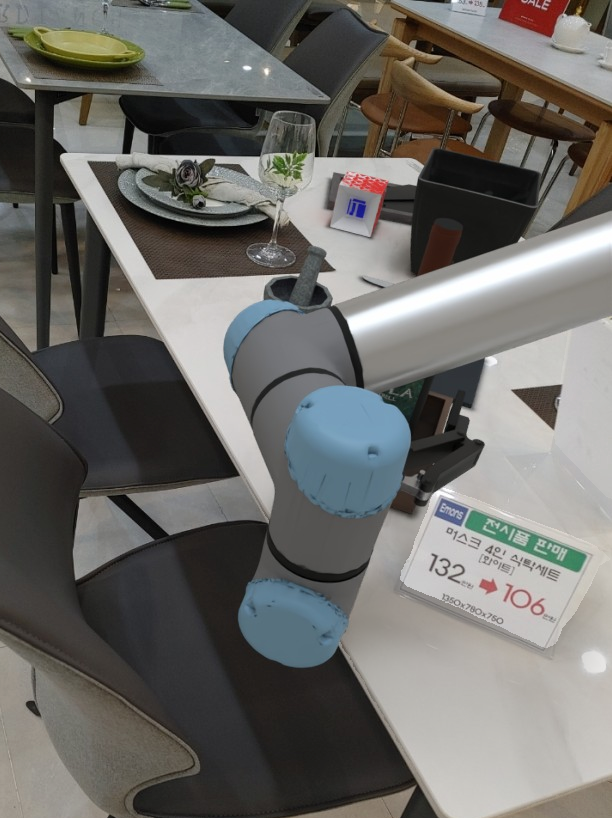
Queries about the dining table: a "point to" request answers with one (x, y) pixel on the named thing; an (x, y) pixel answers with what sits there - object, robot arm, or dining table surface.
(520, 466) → the dining table surface
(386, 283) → the butter knife
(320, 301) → the mortar and pestle
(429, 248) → the wine bottle
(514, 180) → the flower pot
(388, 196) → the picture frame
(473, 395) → the slate mat
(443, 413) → the open wooden box
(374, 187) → the red and white box
